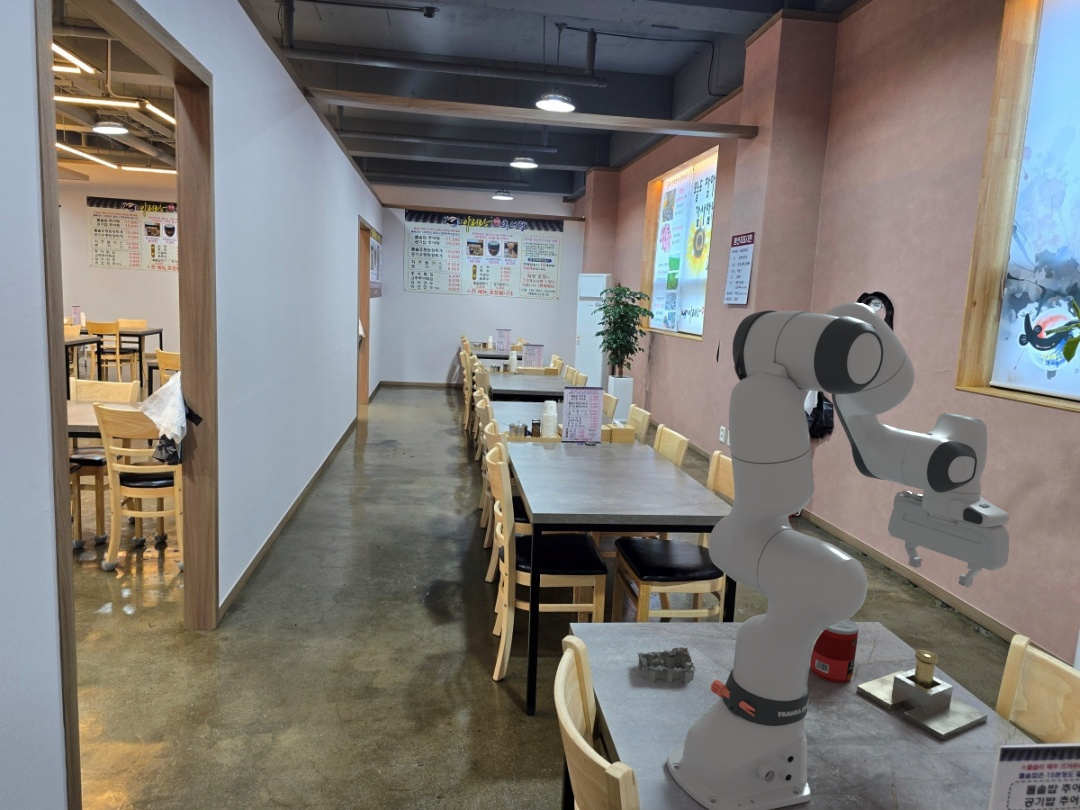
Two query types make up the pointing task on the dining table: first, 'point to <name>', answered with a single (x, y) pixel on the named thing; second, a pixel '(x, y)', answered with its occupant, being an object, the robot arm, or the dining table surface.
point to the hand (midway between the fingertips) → (938, 575)
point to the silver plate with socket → (923, 703)
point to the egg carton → (668, 659)
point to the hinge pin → (925, 668)
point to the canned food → (835, 652)
